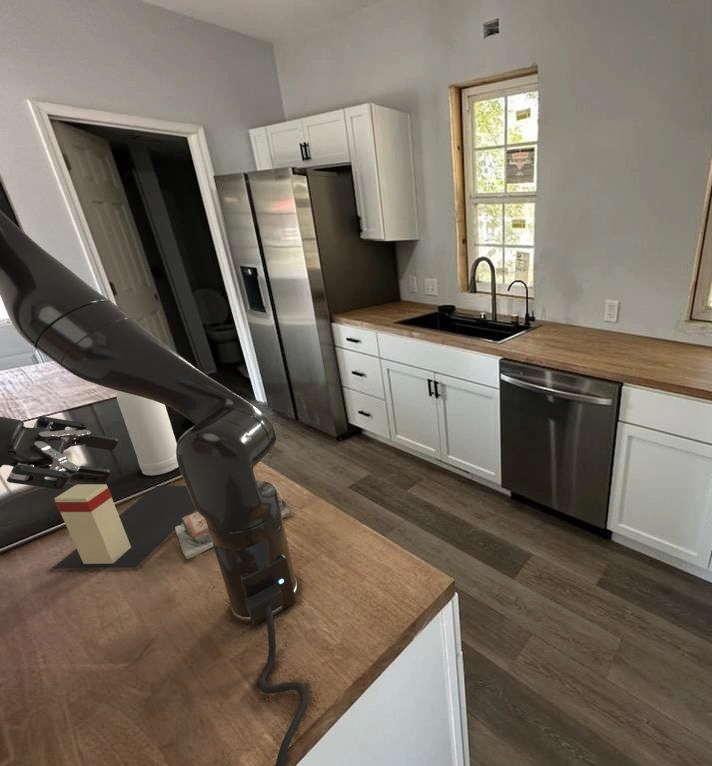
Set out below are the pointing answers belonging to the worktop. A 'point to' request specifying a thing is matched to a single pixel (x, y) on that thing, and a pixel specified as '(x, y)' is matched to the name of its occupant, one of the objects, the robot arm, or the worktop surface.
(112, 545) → the carton
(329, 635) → the worktop surface
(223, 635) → the worktop surface
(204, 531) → the packaged product
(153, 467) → the bottle
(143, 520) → the mat
